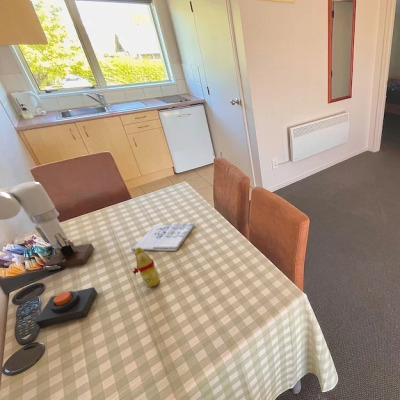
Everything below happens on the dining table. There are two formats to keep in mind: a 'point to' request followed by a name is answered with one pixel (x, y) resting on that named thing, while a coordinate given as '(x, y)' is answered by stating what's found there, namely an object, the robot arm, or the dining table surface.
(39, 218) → the robot arm
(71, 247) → the knob
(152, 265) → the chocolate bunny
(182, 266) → the dining table surface
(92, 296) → the button housing
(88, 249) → the dial panel
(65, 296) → the button
